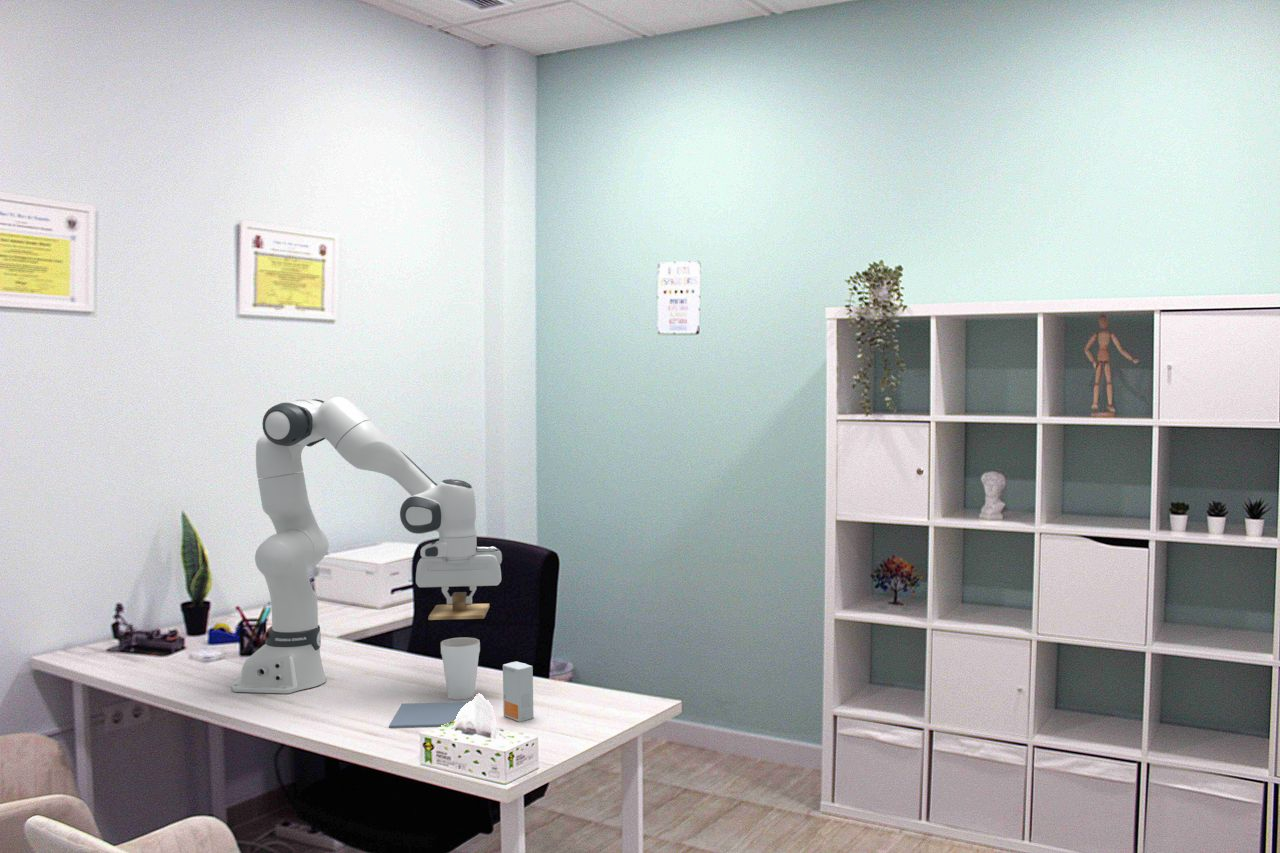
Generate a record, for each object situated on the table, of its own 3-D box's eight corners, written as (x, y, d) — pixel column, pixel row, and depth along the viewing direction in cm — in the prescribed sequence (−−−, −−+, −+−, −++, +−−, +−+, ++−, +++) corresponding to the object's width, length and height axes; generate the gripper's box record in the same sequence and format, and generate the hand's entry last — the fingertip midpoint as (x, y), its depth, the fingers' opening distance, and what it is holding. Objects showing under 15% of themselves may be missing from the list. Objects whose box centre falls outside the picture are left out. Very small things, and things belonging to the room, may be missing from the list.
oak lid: (428, 619, 251) (427, 599, 251) (436, 607, 264) (436, 588, 264) (484, 618, 252) (483, 598, 252) (489, 606, 265) (489, 587, 264)
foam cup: (433, 698, 257) (432, 644, 256) (457, 687, 265) (456, 635, 265) (465, 703, 253) (464, 648, 252) (488, 692, 261) (487, 639, 260)
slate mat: (388, 727, 235) (388, 725, 235) (401, 705, 251) (401, 703, 251) (471, 725, 236) (471, 723, 236) (479, 703, 252) (479, 701, 252)
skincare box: (502, 716, 242) (501, 664, 242) (517, 712, 245) (516, 660, 245) (519, 722, 238) (518, 669, 237) (534, 718, 241) (533, 665, 240)
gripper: (502, 544, 261) (504, 600, 261) (418, 546, 260) (419, 602, 261) (500, 548, 255) (501, 606, 255) (413, 550, 254) (415, 608, 254)
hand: (459, 604), depth 258 cm, fingers closed on oak lid, 3 cm apart
